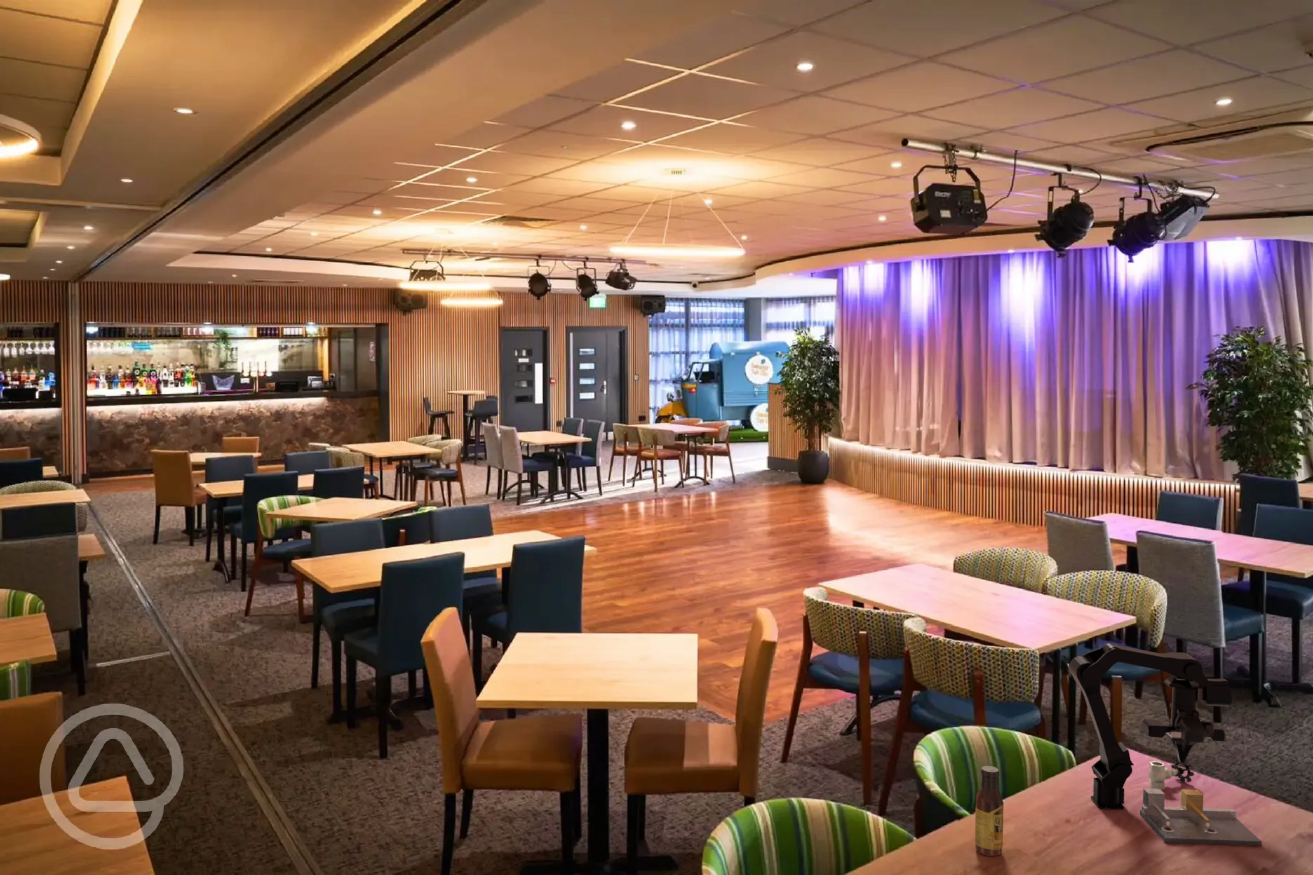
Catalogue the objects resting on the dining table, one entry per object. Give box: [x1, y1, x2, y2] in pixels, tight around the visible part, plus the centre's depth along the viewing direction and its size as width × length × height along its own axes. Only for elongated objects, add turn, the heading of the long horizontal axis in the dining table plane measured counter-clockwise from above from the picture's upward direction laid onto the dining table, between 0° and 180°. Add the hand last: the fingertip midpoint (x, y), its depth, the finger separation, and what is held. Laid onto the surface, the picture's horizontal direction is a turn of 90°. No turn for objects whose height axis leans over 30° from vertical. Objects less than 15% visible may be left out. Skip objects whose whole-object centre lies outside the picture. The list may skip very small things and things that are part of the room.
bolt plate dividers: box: [1139, 787, 1263, 847], centre depth 237 cm, size 22×15×7 cm
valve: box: [1147, 758, 1195, 791], centre depth 263 cm, size 7×7×12 cm
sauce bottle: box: [974, 765, 1004, 857], centre depth 227 cm, size 6×6×20 cm
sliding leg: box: [1180, 789, 1210, 830], centre depth 239 cm, size 4×10×6 cm, turn 174°
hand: (1181, 762), depth 249 cm, fingers closed
